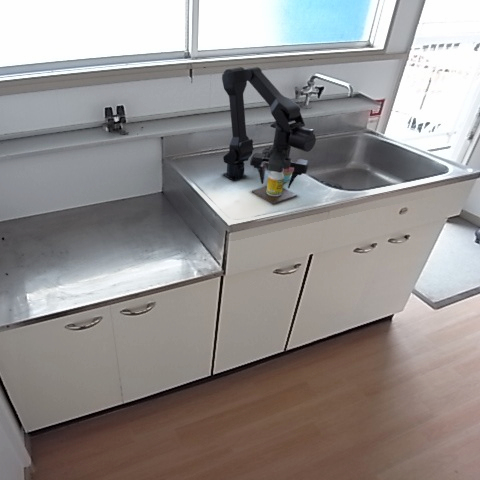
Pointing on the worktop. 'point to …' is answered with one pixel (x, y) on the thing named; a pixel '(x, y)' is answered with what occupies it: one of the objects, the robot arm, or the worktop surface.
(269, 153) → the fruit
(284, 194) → the plate
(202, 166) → the worktop surface
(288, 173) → the cupcake
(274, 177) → the supplement bottle
